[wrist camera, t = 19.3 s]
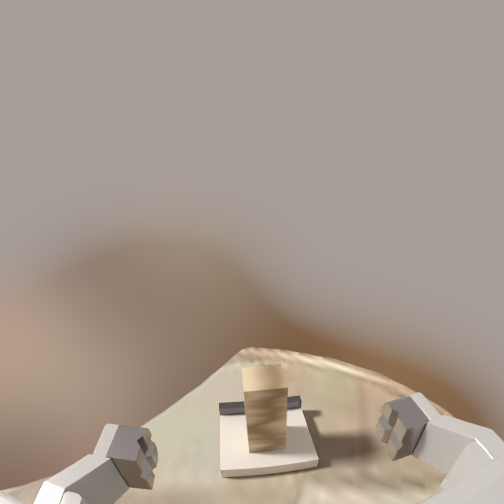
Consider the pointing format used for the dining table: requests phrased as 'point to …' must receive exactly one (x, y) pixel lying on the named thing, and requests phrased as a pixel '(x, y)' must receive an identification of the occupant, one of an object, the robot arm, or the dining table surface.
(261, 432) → the oak block
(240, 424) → the dock
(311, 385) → the dining table surface
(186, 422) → the dining table surface
